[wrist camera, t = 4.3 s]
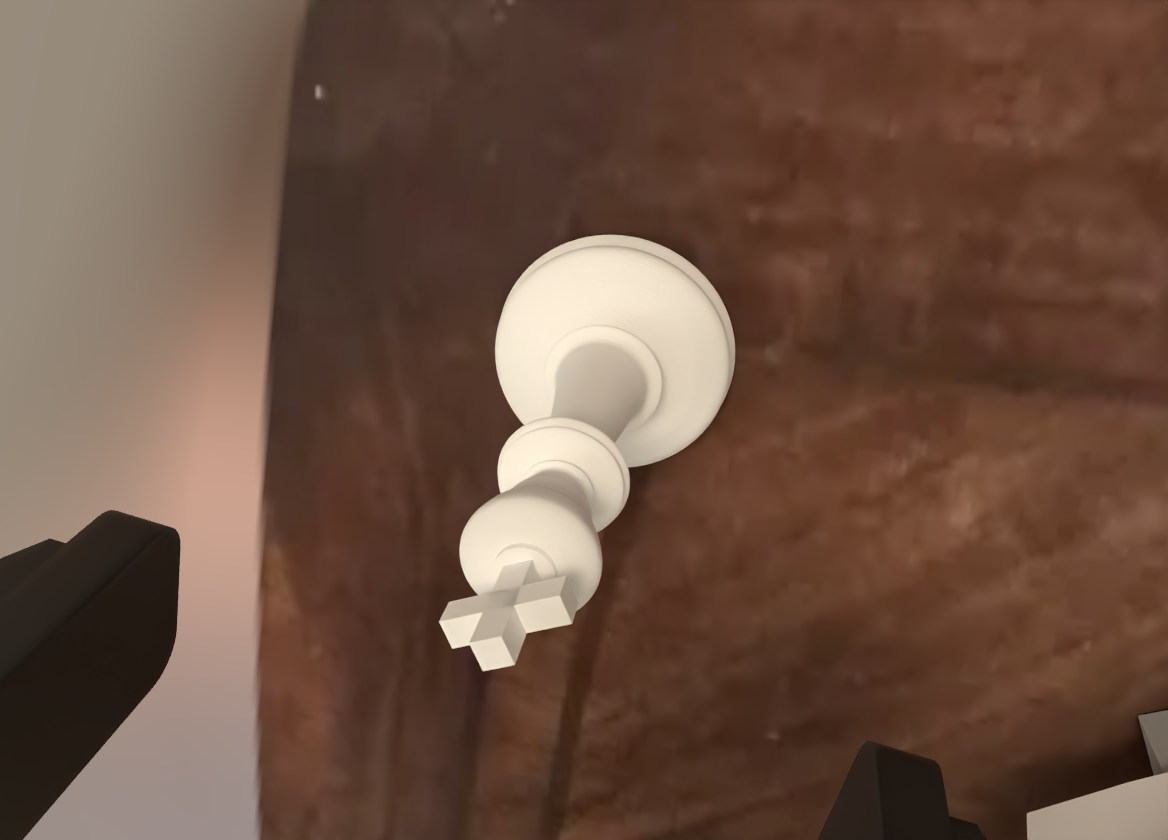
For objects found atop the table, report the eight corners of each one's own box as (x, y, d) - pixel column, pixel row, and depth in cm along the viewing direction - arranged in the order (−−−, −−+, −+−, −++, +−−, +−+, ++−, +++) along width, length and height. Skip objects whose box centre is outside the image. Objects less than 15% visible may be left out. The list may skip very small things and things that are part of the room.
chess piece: (462, 276, 21) (228, 528, 12) (690, 200, 20) (612, 424, 11) (549, 480, 23) (399, 830, 14) (766, 424, 21) (751, 777, 13)
